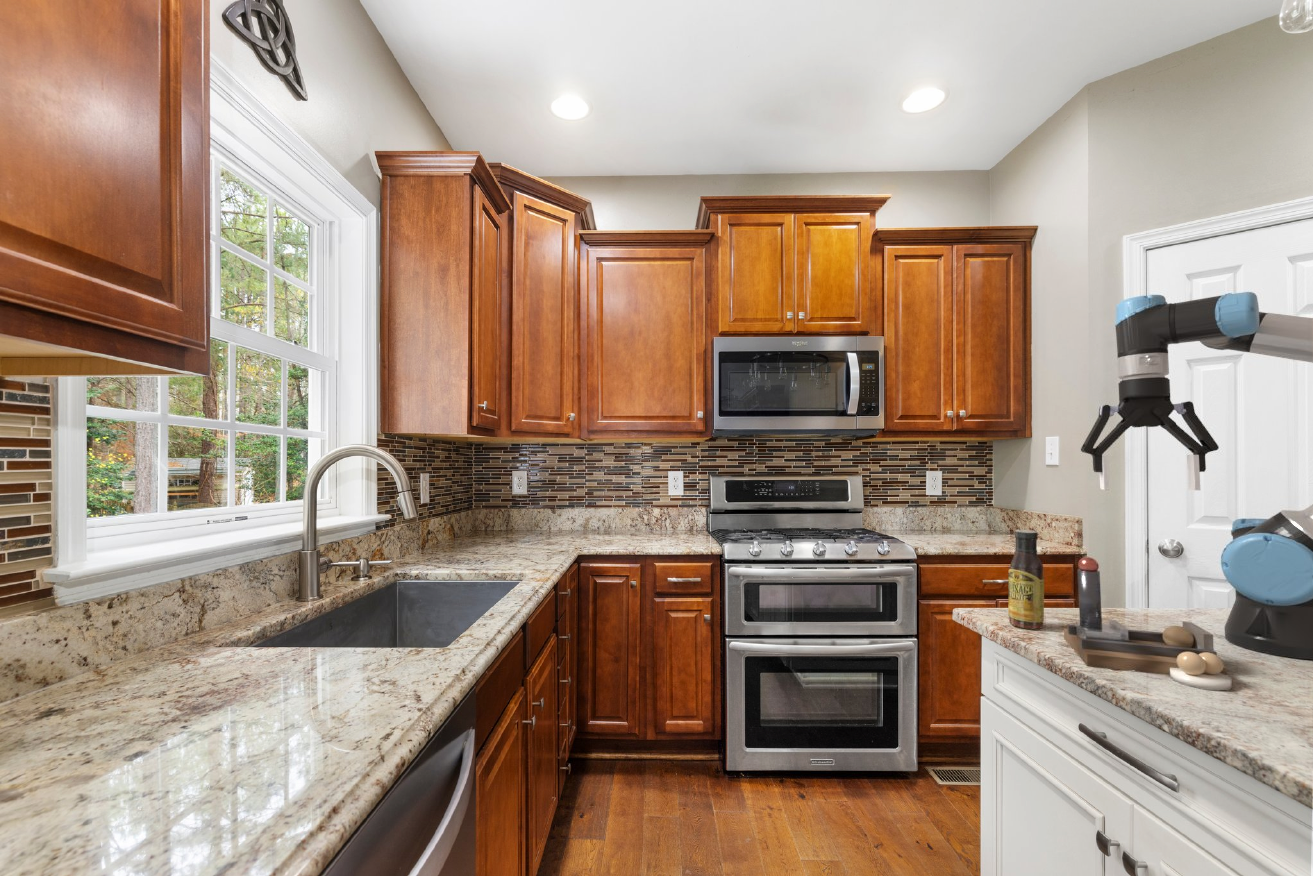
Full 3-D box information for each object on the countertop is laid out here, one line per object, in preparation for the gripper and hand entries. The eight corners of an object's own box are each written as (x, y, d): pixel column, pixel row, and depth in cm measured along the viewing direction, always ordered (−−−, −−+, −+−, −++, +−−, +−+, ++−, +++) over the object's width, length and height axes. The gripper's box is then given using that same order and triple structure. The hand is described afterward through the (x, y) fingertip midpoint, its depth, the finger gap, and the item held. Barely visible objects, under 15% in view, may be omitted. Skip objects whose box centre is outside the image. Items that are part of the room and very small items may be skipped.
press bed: (1182, 649, 105) (1181, 616, 106) (1227, 680, 91) (1225, 641, 91) (1064, 638, 112) (1062, 607, 113) (1087, 666, 98) (1085, 630, 98)
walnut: (1188, 647, 100) (1187, 624, 101) (1199, 654, 97) (1197, 630, 97) (1159, 645, 102) (1158, 622, 102) (1168, 652, 98) (1167, 628, 98)
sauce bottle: (1002, 624, 123) (998, 529, 123) (1021, 620, 125) (1017, 528, 126) (1033, 632, 117) (1029, 533, 117) (1052, 628, 119) (1048, 531, 120)
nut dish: (1218, 677, 92) (1216, 647, 92) (1241, 693, 86) (1239, 662, 86) (1162, 671, 95) (1161, 642, 95) (1181, 686, 89) (1179, 656, 89)
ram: (1116, 637, 105) (1112, 555, 106) (1128, 648, 99) (1124, 561, 100) (1076, 634, 108) (1072, 554, 108) (1085, 644, 102) (1082, 559, 102)
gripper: (1070, 380, 113) (1074, 490, 112) (1239, 371, 103) (1245, 491, 102) (1060, 384, 120) (1065, 488, 119) (1218, 376, 110) (1224, 489, 109)
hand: (1148, 489), depth 110 cm, fingers open, 13 cm apart
